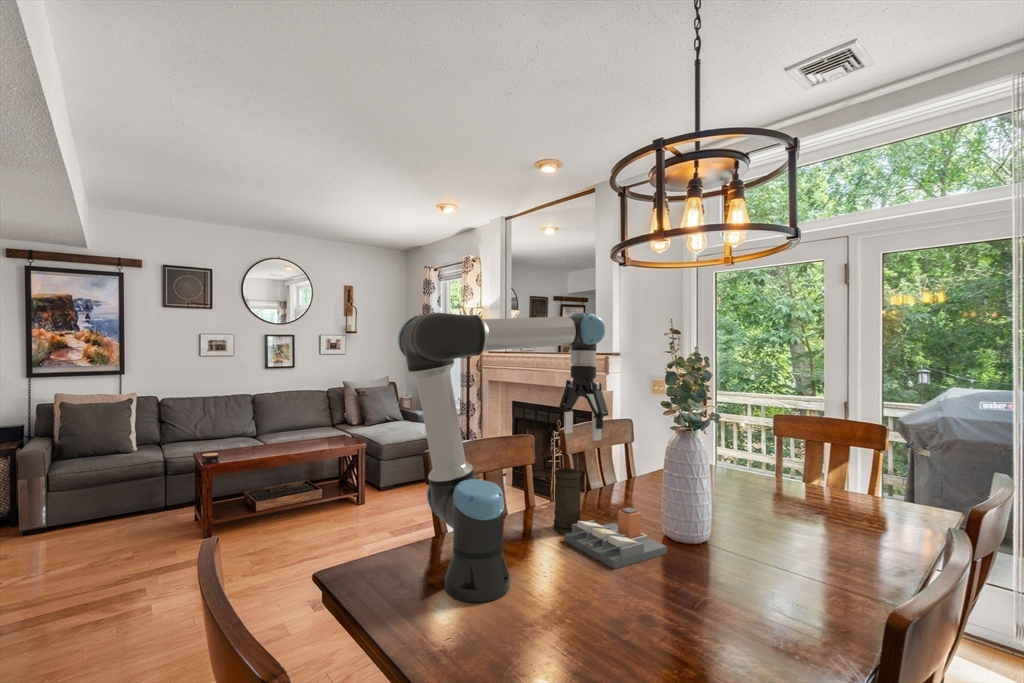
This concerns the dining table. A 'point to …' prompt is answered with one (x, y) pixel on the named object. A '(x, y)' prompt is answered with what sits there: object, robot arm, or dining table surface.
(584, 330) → the robot arm
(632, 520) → the orange block
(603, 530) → the plate
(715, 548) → the dining table surface
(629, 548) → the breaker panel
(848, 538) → the dining table surface
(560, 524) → the container
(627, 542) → the rocker near
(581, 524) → the rocker far
